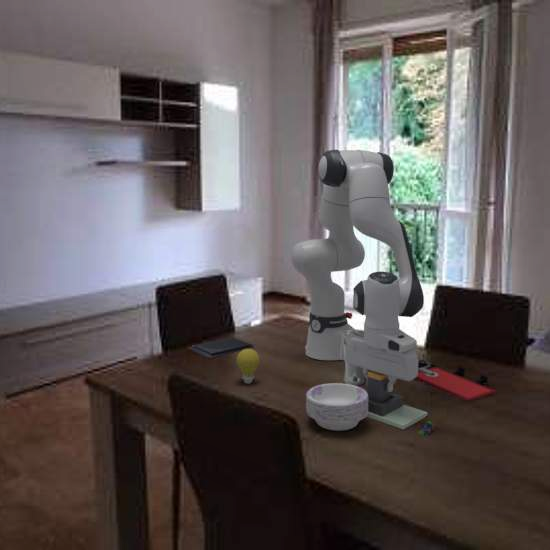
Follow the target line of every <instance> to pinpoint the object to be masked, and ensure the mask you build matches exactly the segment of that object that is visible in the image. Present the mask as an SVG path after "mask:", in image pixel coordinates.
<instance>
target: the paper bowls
mask: <svg viewBox="0 0 550 550" xmlns="http://www.w3.org/2000/svg"><path fill="white" fill-rule="evenodd" d="M305 397H306V399H305V404H306V405H305V408H306V409H305V410H306V414H307V415H308V417H310V418H311V419H313V420H315V422H316V424H317V425H318V426H319V427H321V428H322V429H326V430H330V431H336V432H338V431H340V432H342V431H349V430H351V429H353V428H355V427H357V425H358V424H359V423H360V421H362V420H363V419H366V417H367V415H368V398H369V397H368V393H367V390H365V389H364V388H362V387H361V386H360V387H359V385H350V384H346V383H342V382H335V383H334V382H331V383H322V384H318V385H315V386H313V387H310V389H308V390H307V392H306V394H305Z"/></svg>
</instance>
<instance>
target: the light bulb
mask: <svg viewBox="0 0 550 550" xmlns="http://www.w3.org/2000/svg"><path fill="white" fill-rule="evenodd" d="M236 364H237V366H238V368H239V370H240V371H241V372H242V380H243V382H244V383H245V384H252V383H253V380H254V378H255V375H254V372H255V371H256V370H257V368H258V366H259V364H260V356H259V354H258V352H257V351H256V350H254V349H253V348H252V349H244V350H242V351H239V353H238V355H237V357H236ZM251 382H252V383H251Z"/></svg>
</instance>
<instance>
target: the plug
mask: <svg viewBox="0 0 550 550" xmlns="http://www.w3.org/2000/svg"><path fill="white" fill-rule="evenodd" d="M389 381H390V380H389V379H388V375H384V374H381V373H378V372H374V371H370V372H368V376H367V379H366V382H367V384H366V392H367V393H368V397H369V398H368V400H371V401H374V402H377V403H380V404H381V403H383V402H385V401H387V400H389V399H391V393H392V391H391V392H388V391H385V390H384V388H385V387H384V384H387V383H389Z"/></svg>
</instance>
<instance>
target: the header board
mask: <svg viewBox="0 0 550 550" xmlns="http://www.w3.org/2000/svg"><path fill="white" fill-rule="evenodd" d="M426 416H427V417H428V412H427V411H425V410H421V409H418V408H416V407H412V406H410V405H407V404H404V396H403V395H399V394H396V393H393V392H391V399H389V400H387V401H385V402H383V403H381V404H380V403H377V402H374V401H371V400H368V415H367V416H366V417H367V418H370V419H372V420H376V421H379V422H381V423H384V424H387V425H390V426H393V427H395V428H399V429H402V430H404V431H405V429H407V428H409V427H411V426H412V425H414V424H416V423H418V422H419V421H420V422H421V420H423V419H424V418H426Z"/></svg>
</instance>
